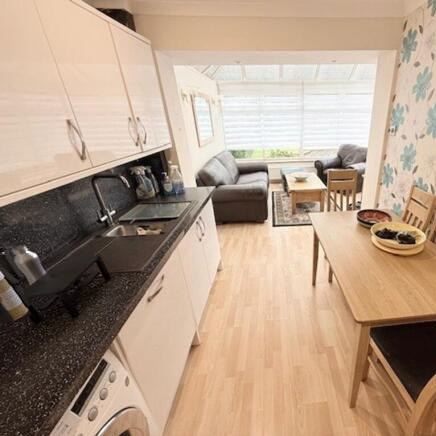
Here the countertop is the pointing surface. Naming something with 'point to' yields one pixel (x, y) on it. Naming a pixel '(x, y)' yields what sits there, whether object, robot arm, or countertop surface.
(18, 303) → the sprinkles bottle
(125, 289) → the countertop surface
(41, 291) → the stand
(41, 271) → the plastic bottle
